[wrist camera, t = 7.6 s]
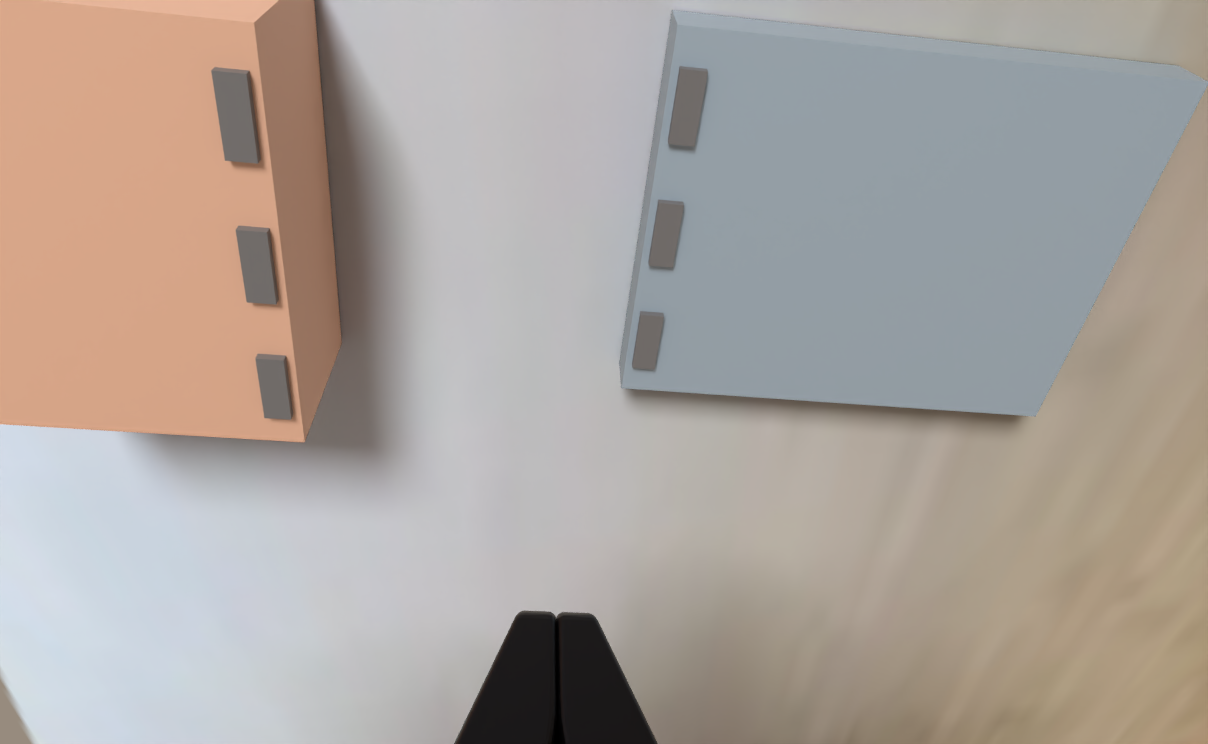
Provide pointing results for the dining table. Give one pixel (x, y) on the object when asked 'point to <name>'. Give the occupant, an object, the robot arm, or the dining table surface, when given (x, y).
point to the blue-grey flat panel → (884, 212)
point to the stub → (164, 218)
